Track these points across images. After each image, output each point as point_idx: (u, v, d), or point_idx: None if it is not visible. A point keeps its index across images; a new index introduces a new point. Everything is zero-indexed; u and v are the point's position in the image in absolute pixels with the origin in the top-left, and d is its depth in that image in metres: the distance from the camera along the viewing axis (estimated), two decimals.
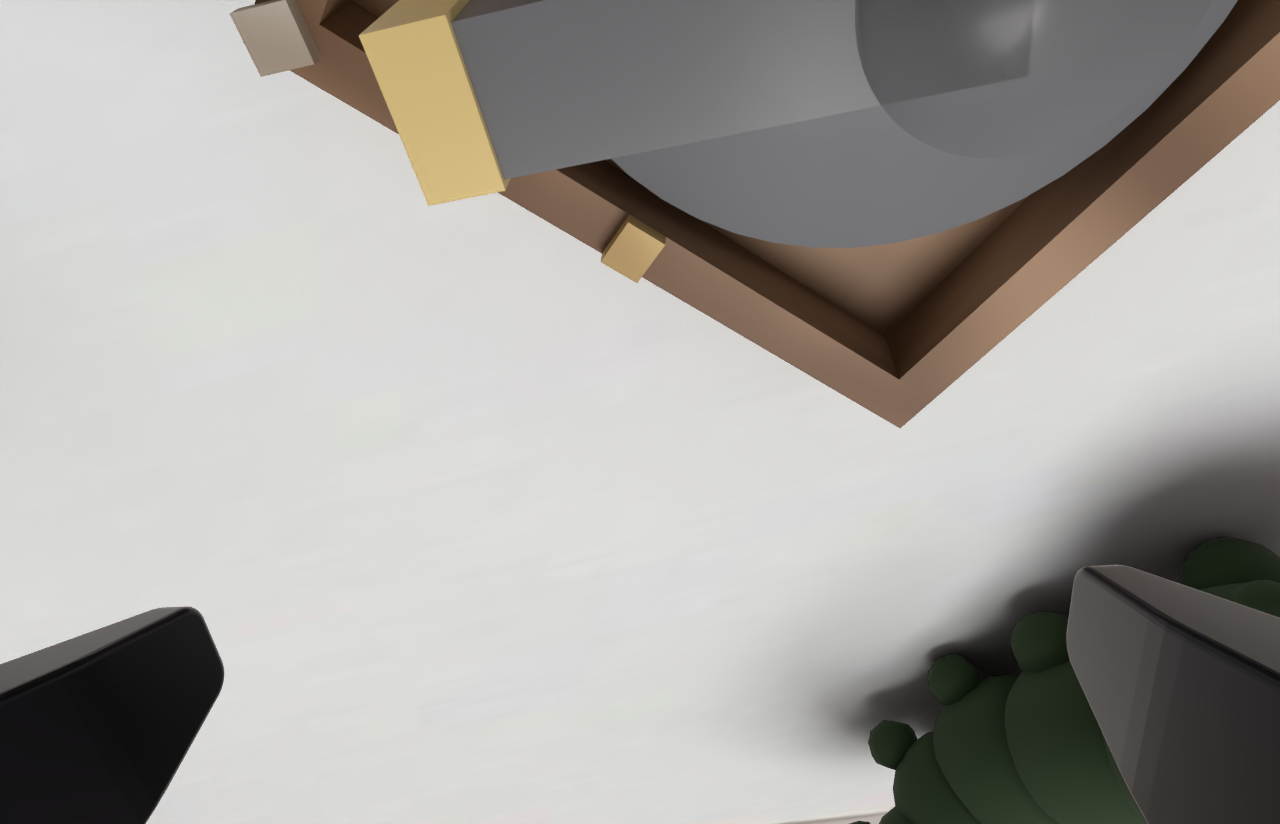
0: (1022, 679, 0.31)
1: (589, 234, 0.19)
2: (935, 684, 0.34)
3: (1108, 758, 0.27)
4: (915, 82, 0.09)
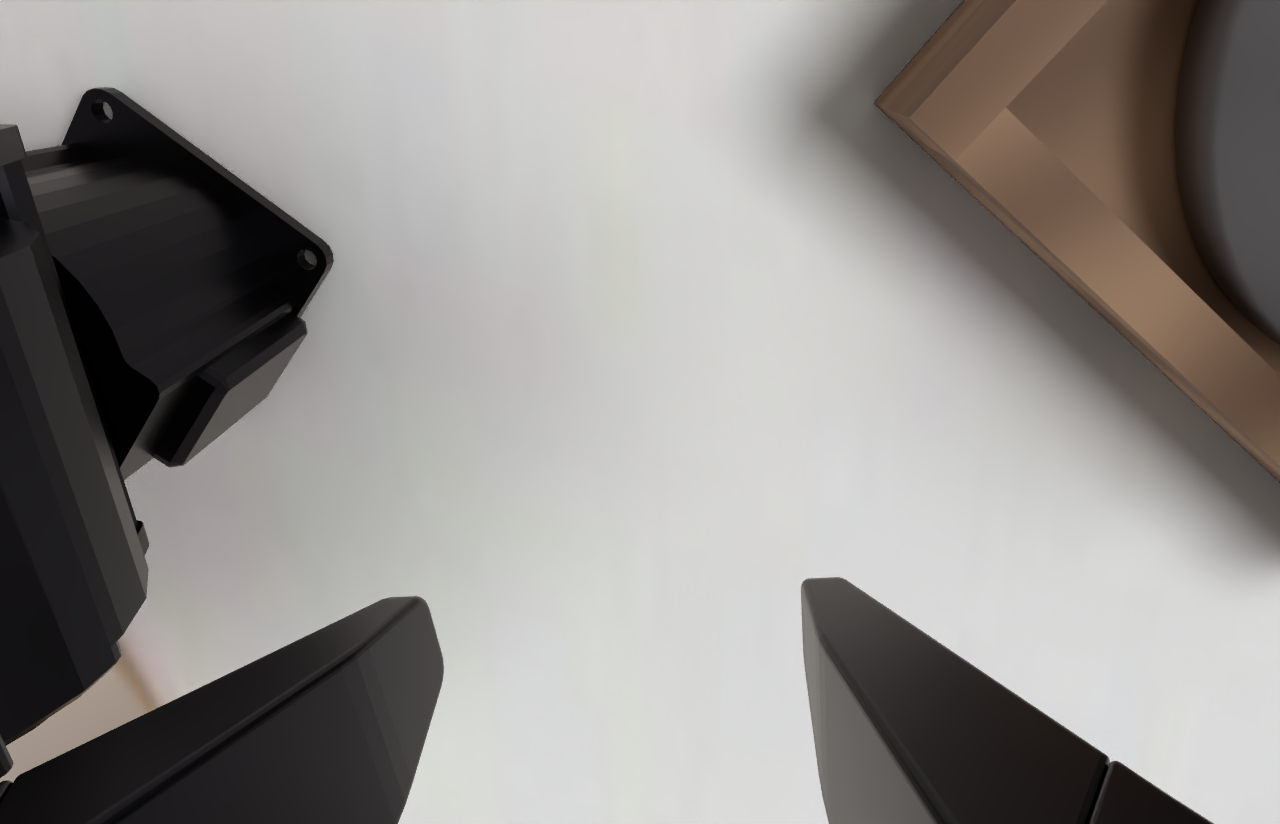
0: None
1: None
2: None
3: None
4: None
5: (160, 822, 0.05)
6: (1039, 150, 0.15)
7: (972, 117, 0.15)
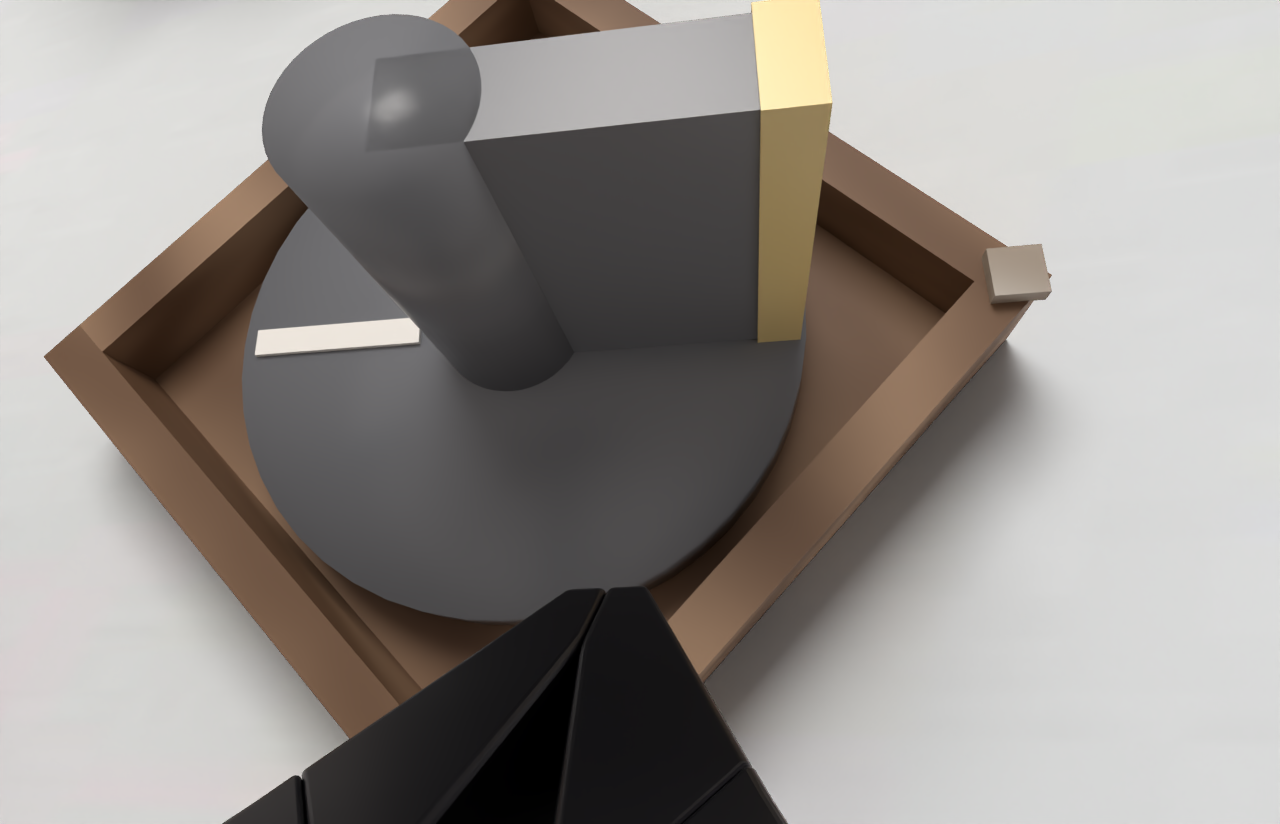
0: None
1: None
2: None
3: None
4: (446, 59, 0.13)
5: (470, 819, 0.04)
6: None
7: None
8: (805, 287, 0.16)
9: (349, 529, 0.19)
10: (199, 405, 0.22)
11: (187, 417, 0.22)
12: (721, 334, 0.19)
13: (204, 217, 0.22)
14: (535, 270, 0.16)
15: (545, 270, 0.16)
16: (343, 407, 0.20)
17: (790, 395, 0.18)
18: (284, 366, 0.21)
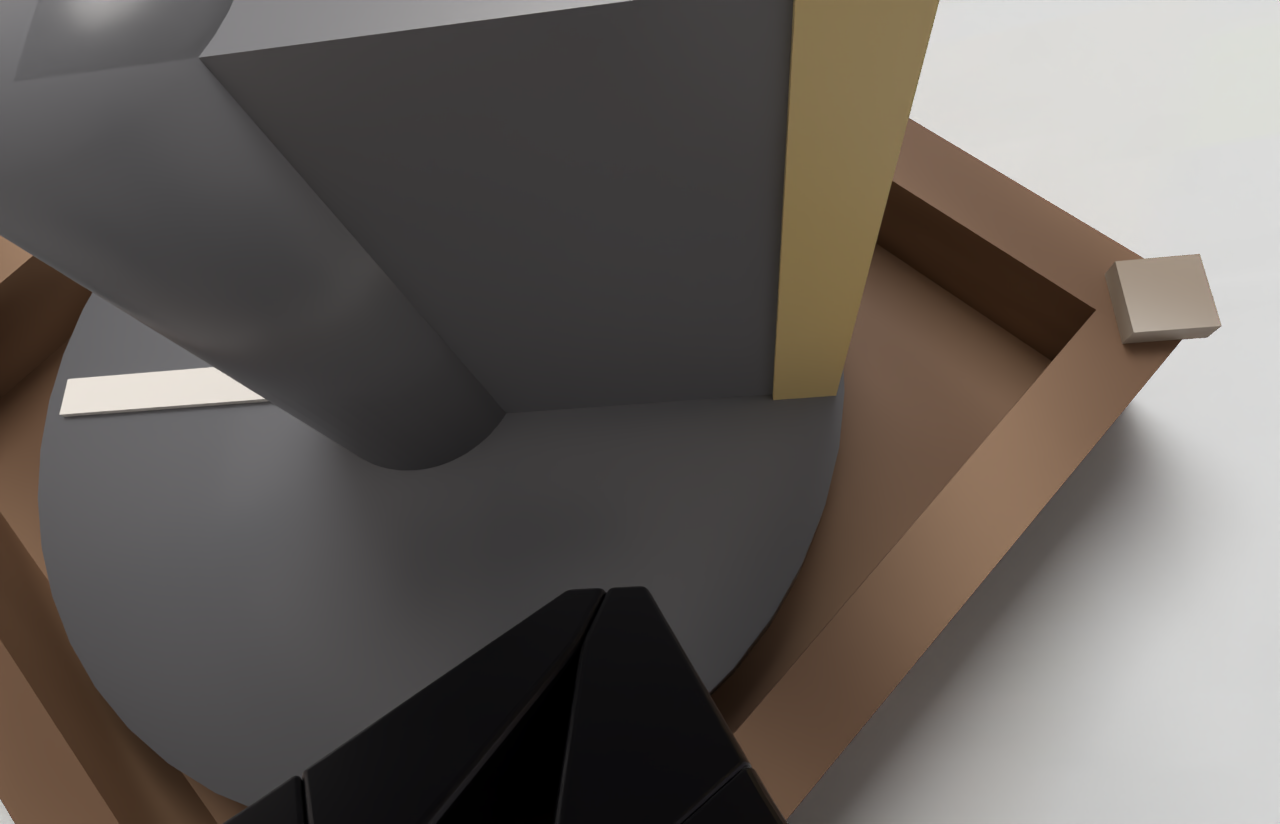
0: None
1: None
2: None
3: None
4: None
5: (470, 819, 0.04)
6: None
7: None
8: (851, 324, 0.10)
9: (170, 678, 0.13)
10: (5, 478, 0.16)
11: None
12: (719, 389, 0.13)
13: None
14: (416, 299, 0.10)
15: (432, 300, 0.10)
16: (176, 492, 0.14)
17: (822, 480, 0.12)
18: (100, 430, 0.14)
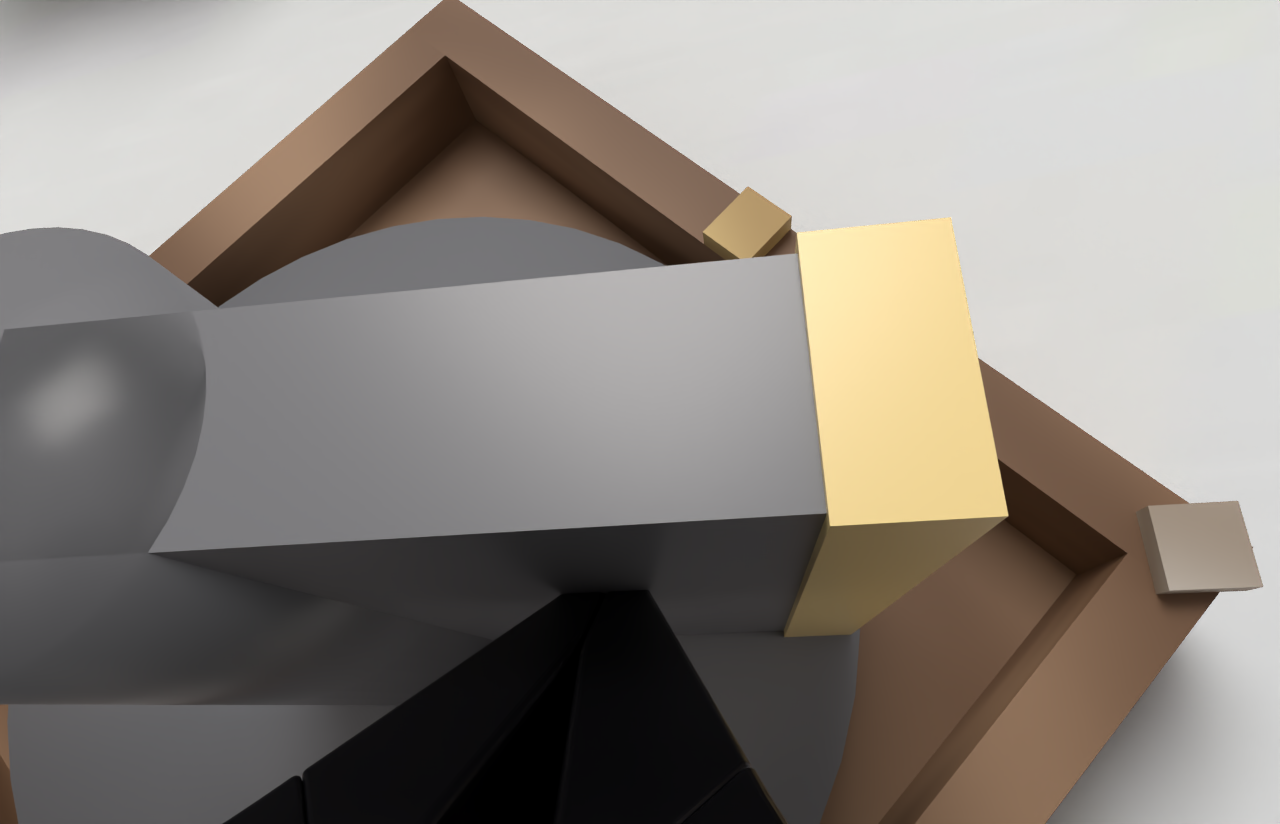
0: None
1: None
2: None
3: None
4: (142, 337, 0.06)
5: (470, 819, 0.04)
6: None
7: None
8: (871, 616, 0.10)
9: None
10: None
11: None
12: (727, 630, 0.12)
13: None
14: (402, 614, 0.09)
15: (421, 614, 0.09)
16: (153, 721, 0.13)
17: (838, 733, 0.12)
18: None
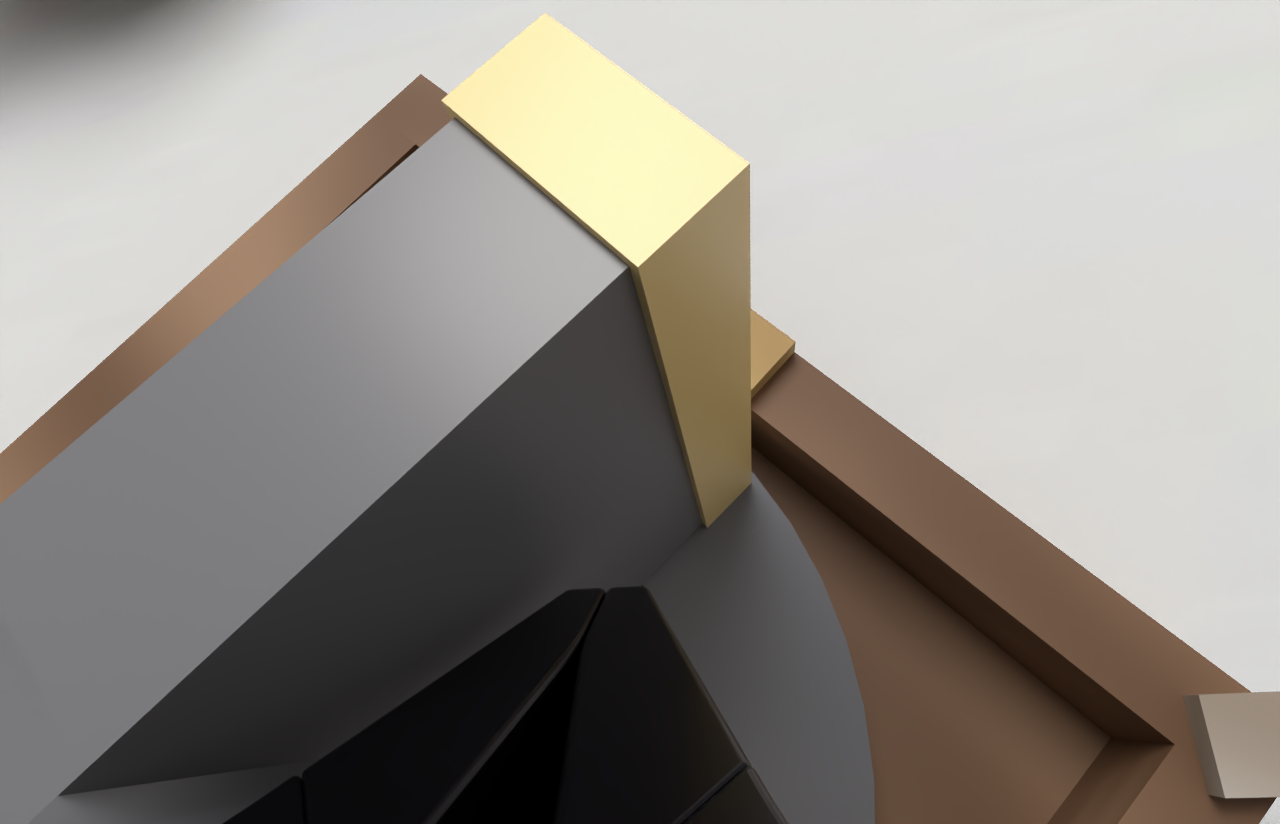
0: None
1: (808, 381, 0.13)
2: None
3: None
4: None
5: (470, 820, 0.04)
6: None
7: None
8: (749, 434, 0.10)
9: None
10: None
11: None
12: (662, 557, 0.12)
13: None
14: None
15: None
16: None
17: (802, 560, 0.12)
18: None
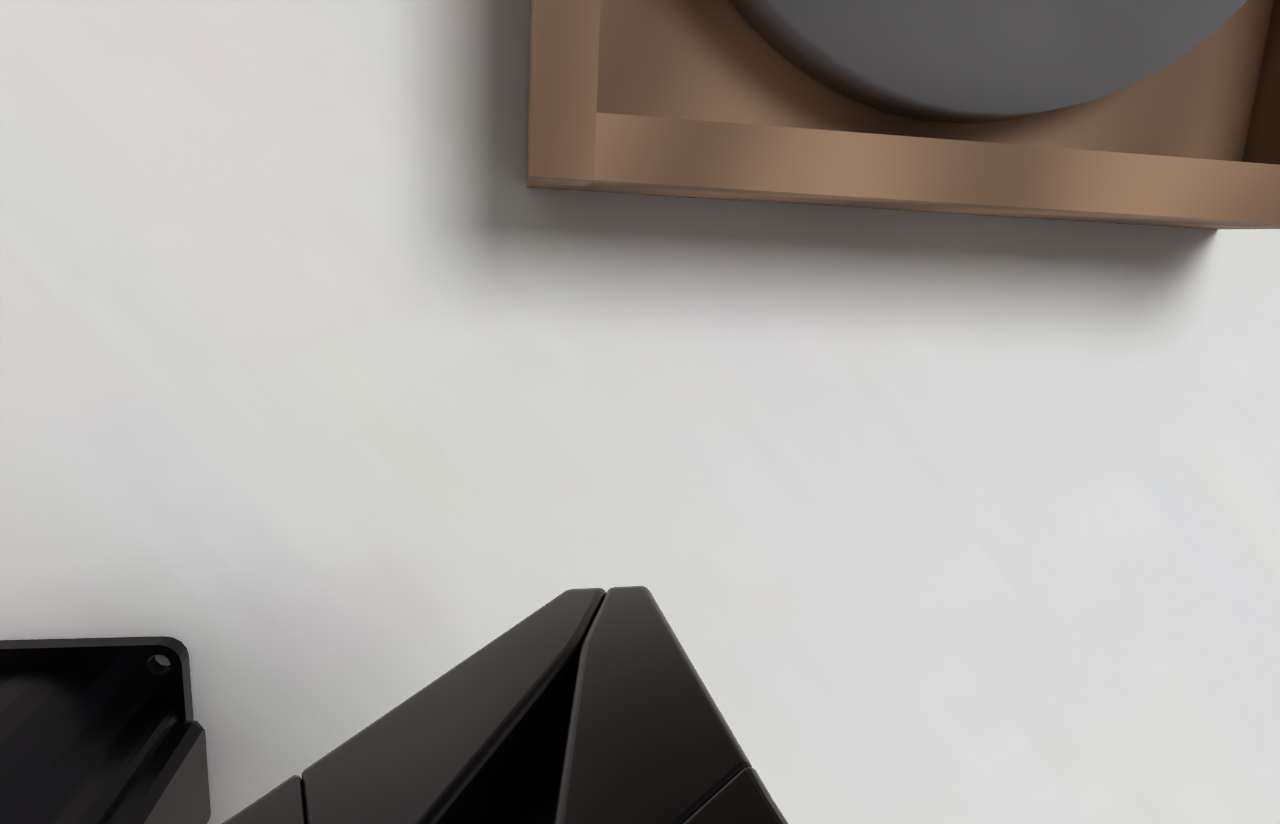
0: None
1: None
2: None
3: None
4: None
5: (470, 820, 0.04)
6: (652, 123, 0.15)
7: (577, 138, 0.15)
8: None
9: None
10: None
11: None
12: None
13: None
14: None
15: None
16: None
17: None
18: None
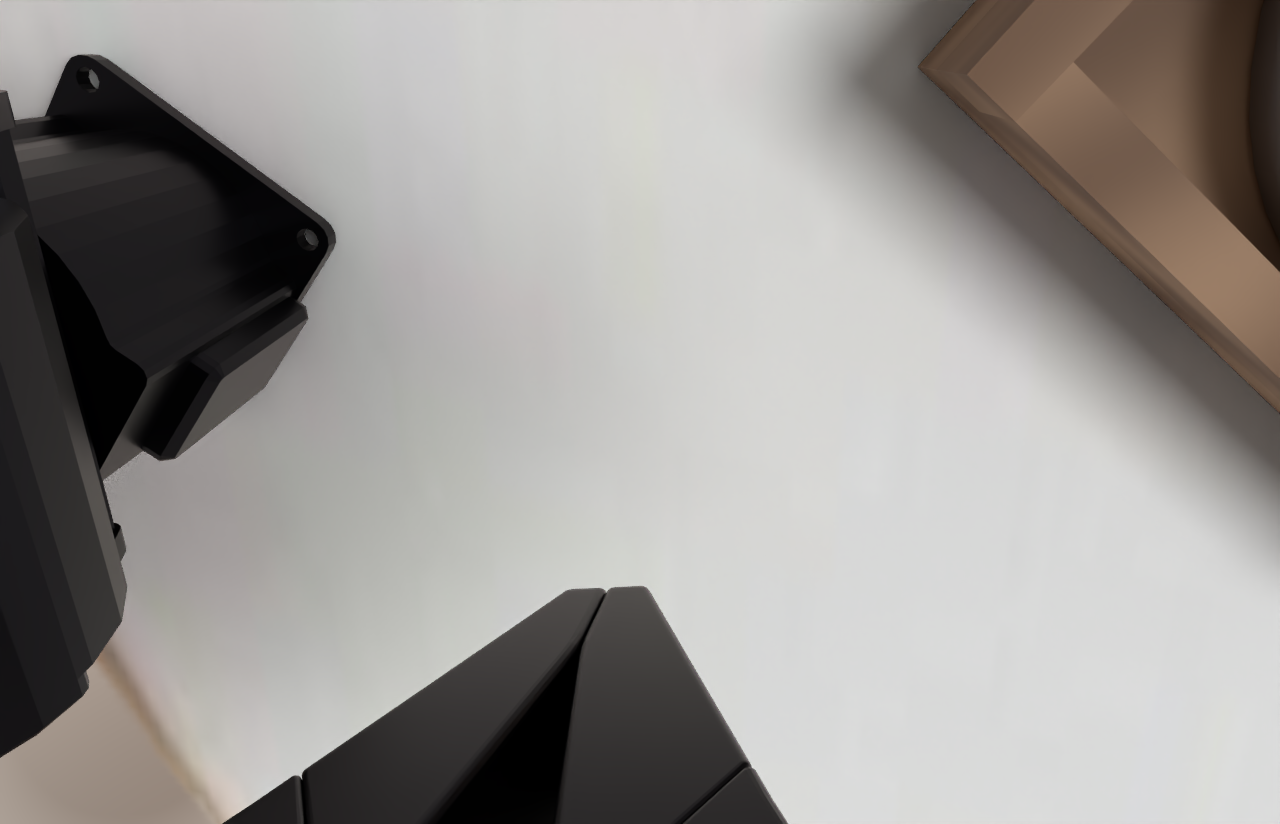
0: None
1: None
2: None
3: None
4: None
5: (470, 820, 0.04)
6: (1108, 110, 0.14)
7: (1036, 73, 0.13)
8: None
9: None
10: None
11: None
12: None
13: None
14: None
15: None
16: None
17: None
18: None
